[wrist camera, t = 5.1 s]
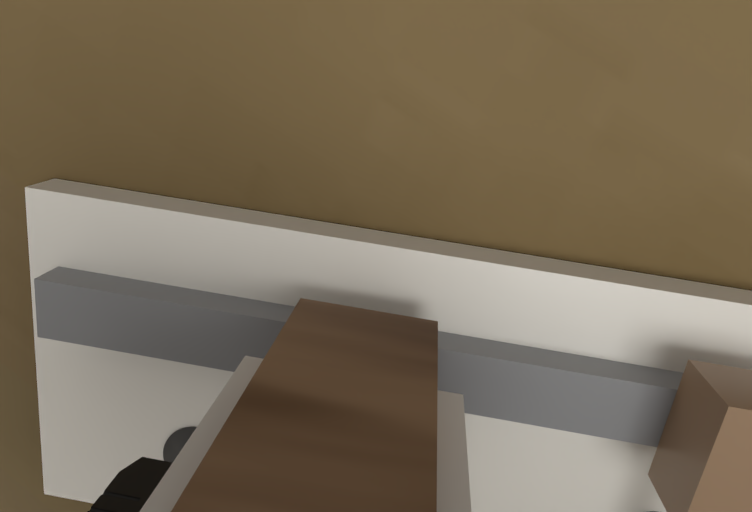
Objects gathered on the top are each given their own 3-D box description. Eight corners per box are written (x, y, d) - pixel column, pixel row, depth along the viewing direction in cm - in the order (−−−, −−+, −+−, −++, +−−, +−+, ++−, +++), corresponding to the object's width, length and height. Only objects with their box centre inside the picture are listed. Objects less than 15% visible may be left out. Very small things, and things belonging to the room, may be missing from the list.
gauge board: (720, 592, 22) (800, 741, 17) (68, 468, 23) (-29, 572, 18) (846, 306, 18) (995, 392, 13) (55, 178, 19) (-72, 214, 15)
